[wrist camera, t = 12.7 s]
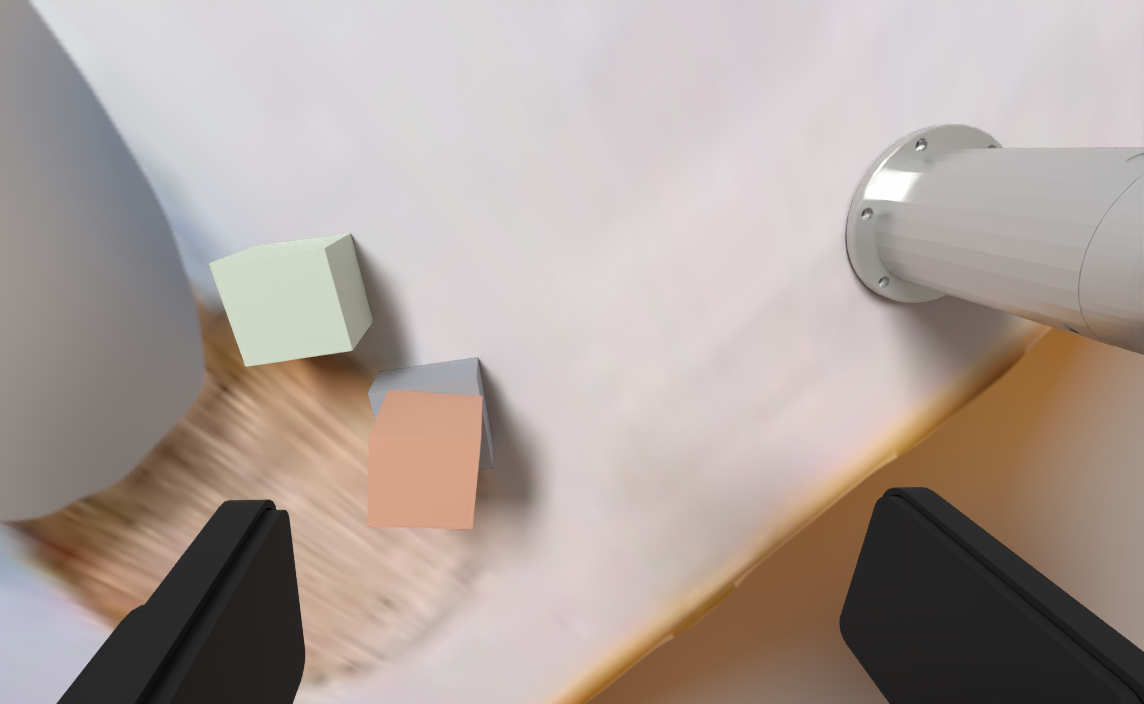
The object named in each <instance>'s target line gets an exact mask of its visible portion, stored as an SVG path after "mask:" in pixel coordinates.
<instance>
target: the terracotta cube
mask: <svg viewBox="0 0 1144 704" xmlns="http://www.w3.org/2000/svg"><path fill="white" fill-rule="evenodd" d="M481 425H482V396H474V395H459V394H444V393H430V392H415V391H401V390H388V392H387V395H386V397H385V399H384V402H383V404H382V406H381V409H380V411H379V413H378V416H377V418H376V420H375V423H374V425H373V427H372V430H371V432H370V434H369V477H368V527H405V528H445V529H473V519H474V509H475V498H476V488H477V477H478V467H479V457H480V446H481Z"/></svg>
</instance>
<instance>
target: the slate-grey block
mask: <svg viewBox="0 0 1144 704" xmlns="http://www.w3.org/2000/svg"><path fill="white" fill-rule="evenodd" d="M388 390H401V391H415V392H430V393H444V394H459V395H474V396H482V425H481V446H480V457H479V467H478V470H484V469H491V468H493V440H492V434H491V429H490V423H489V417H488V412H487V406H486V400H485V395H484V389H483V383H482V378H481V372H480V367H479V361H478V357H475V358H468V359H462V360H455V361H448V362H441V363H434V364H427V365H420V366H414V367H407V368H400V369H393V370H386V371H379V372H378V374H377V376H376V378H375V380H374V382H373V384H372V386H371V388H370V390H369V392H368V397H369V400H370V404H371V408H372V412H373V416H374V419H375V420H376V418H377V416H378V413H379V411H380V409H381V406H382V404H383V402H384V399H385V397H386V395H387V392H388Z"/></svg>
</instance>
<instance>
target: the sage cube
mask: <svg viewBox="0 0 1144 704" xmlns="http://www.w3.org/2000/svg"><path fill="white" fill-rule="evenodd" d="M209 265H210V268H211V270H212V273H213V276H214V279H215V282H216V285H217V287H218V290H219V293H220V296H221V299H222V301H223V304H224V307H225V310H226V313H227V315H228V318H229V321H230V324H231V327H232V330H233V332H234V335H235V338H236V341H237V344H238V346H239V349H240V352H241V355H242V358H243V360H244V363H245V366H246V367H247V366H253V365H260V364H267V363H273V362H280V361H287V360H294V359H300V358H307V357H314V356H320V355H327V354H334V353H340V352H347V351H353V349H354V348H355V347H356V345H357V344H358V342H359V341H360V339H361V338H362V337H363V335H364V334H365V332H366V331H367V329H368V328H369V327H370V325H371V324H372V322H373V319H372V315H371V311H370V307H369V303H368V299H367V295H366V291H365V287H364V283H363V279H362V276H361V272H360V268H359V264H358V260H357V256H356V252H355V248H354V244H353V240H352V237H351V233H349V234H341V235H333V236H326V237H318V238H310V239H303V240H295V241H287V242H279V243H272V244H264V245H256V246H252V247H250V248H247V249H245V250H242V251H240V252H237V253H234V254H232V255H229V256H227V257H224V258H222V259H219V260H217V261H214V262H211V263H209Z"/></svg>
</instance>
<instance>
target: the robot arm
mask: <svg viewBox="0 0 1144 704" xmlns="http://www.w3.org/2000/svg"><path fill="white" fill-rule="evenodd" d="M846 236H847V250H848V253H849V257H850V261H851V264H852V266H853V268H854V270H855V272H856V274H857V275H858V277H859V278H860V279H861V280H862V281H863V283H864V284H865V285H866V286H867V287H869V288H870V289H871V290H873V291H874V292H876V293H877V294H879V295H882V296H884V297H887V298H889V299H892V300H896V301H899V302H903V303H921V302H927V301H932V300H935V299H938V298H941V297H944V296H947V295H951V296H954V297H957V298H960V299H963V300H967V301H970V302H973V303H976V304H980V305H983V306H986V307H989V308H992V309H996V310H999V311H1002V312H1005V313H1009V314H1012V315H1015V316H1018V317H1021V318H1025V319H1028V320H1031V321H1034V322H1038V323H1041V324H1044V325H1047V326H1050V327H1054V328H1057V329H1060V330H1064V331H1067V332H1070V333H1073V334H1076V335H1080V336H1083V337H1086V338H1089V339H1092V340H1096V341H1099V342H1102V343H1105V344H1109V345H1112V346H1116V347H1119V348H1123V349H1126V350H1129V351H1132V352H1136V353H1139V354H1143V355H1144V147H1094V148H1003V147H1002V146H1001V144H1000V143H999V142H998V141H996V140H995V139H994V138H993V137H992V136H991V135H990V134H988V133H986V132H984V131H982V130H980V129H978V128H976V127H971V126H967V125H940V126H932V127H928V128H925V129H922V130H919V131H916V132H913V133H911V134H910V135H908V136H906V137H904V138H903V139H901V140H899V141H898V142H896V143H895V144H894V145H893V146H891V147H890V148H889V149H888V150H886V151H885V152H884V153H883V154H882V155H881V156H880V157H879V158H878V160H877V161H876V162H875V163H874V164H873V165H872V166H871V168H870V169H869V171H868V172H867V174H866V175H865V177H864V178H863V180H862V181H861V183H860V185H859V187H858V189H857V192H856V194H855V196H854V198H853V201H852V205H851V208H850V212H849V215H848V222H847V231H846ZM840 630H841V634H842V636H843V639H844V641H845V642H846V644H847V645H848V647H849V648H850V650H851V651H852V652H853V654H854V655H855V656H856V658H857V659H858V660H859V662H860V663H861V665H862V666H863V667H864V669H865V670H866V672H867V673H868V674H869V676H870V677H871V678H872V680H873V681H874V683H875V684H876V685H877V687H878V688H879V689H880V691H881V692H882V694H883V695H884V696H885V698H886V699H887V701H888V702H889V703H890V704H1144V652H1143V651H1142V650H1141V649H1139V648H1138V647H1137V646H1135V645H1134V644H1133V643H1131V642H1130V641H1129V640H1128V639H1126V638H1125V637H1124V636H1122V635H1121V634H1120V633H1118V632H1117V631H1116V630H1115V629H1113V628H1112V627H1111V626H1109V625H1108V624H1107V623H1105V622H1104V621H1103V620H1101V619H1100V618H1099V617H1097V616H1096V615H1095V614H1094V613H1092V612H1091V611H1090V610H1088V609H1087V608H1086V607H1084V606H1083V605H1082V604H1080V603H1079V602H1078V601H1077V600H1075V599H1074V598H1073V597H1071V596H1070V595H1069V594H1067V593H1066V592H1065V591H1063V590H1062V589H1061V588H1060V587H1058V586H1057V585H1055V584H1054V583H1053V582H1052V581H1050V580H1049V579H1048V578H1046V577H1045V576H1044V575H1043V574H1041V573H1040V572H1038V571H1037V570H1036V569H1035V568H1033V567H1032V566H1031V565H1029V564H1028V563H1027V562H1025V561H1024V560H1023V559H1022V558H1020V557H1019V556H1018V555H1016V554H1015V553H1014V552H1012V551H1011V550H1010V549H1008V548H1007V547H1006V546H1005V545H1003V544H1002V543H1001V542H999V541H998V540H997V539H995V538H994V537H993V536H991V535H990V534H989V533H987V532H986V531H985V530H984V529H982V528H981V527H980V526H978V525H977V524H976V523H974V522H973V521H972V520H970V519H969V518H968V517H967V516H965V515H964V514H962V513H961V512H960V511H959V510H957V509H956V508H955V507H953V506H952V505H951V504H950V503H948V502H947V501H946V500H944V499H943V498H942V497H940V496H939V495H938V494H936V493H935V492H934V491H932V490H930V489H928V488H924V487H904V488H902V487H901V488H891V489H888V490H887V491H886V492H885V493H884V495H883V497H881V498H880V499H879V500H877V502H876V504H875V507H874V510H873V513H872V517H871V520H870V523H869V526H868V529H867V533H866V536H865V539H864V543H863V546H862V549H861V552H860V555H859V558H858V562H857V565H856V568H855V571H854V575H853V578H852V581H851V584H850V587H849V591H848V594H847V597H846V600H845V603H844V607H843V610H842V613H841V616H840ZM304 664H305V645H304V637H303V628H302V620H301V611H300V603H299V595H298V586H297V578H296V570H295V561H294V553H293V544H292V536H291V528H290V519H289V515H288V512H287V511H286V510H276V506H275V504H274V502H273V501H271V500H229V501H225V502H224V503H223V504H222V505H221V506H220V507H219V508H218V509H217V511H216V512H215V513H214V515H213V516H212V517H211V518H210V520H209V521H208V522H207V524H206V525H205V526H204V528H203V529H202V530H201V532H200V533H199V534H198V536H197V537H196V538H195V539H194V541H193V542H192V543H191V545H190V546H189V547H188V549H187V550H186V551H185V553H184V554H183V555H182V556H181V558H180V559H179V560H178V562H177V563H176V564H175V566H174V567H173V568H172V570H171V571H170V572H169V574H168V575H167V576H166V577H165V579H164V580H163V581H162V583H161V584H160V585H159V587H158V588H157V589H156V591H155V592H154V593H153V594H152V596H151V597H150V598H149V600H148V601H147V602H146V604H145V605H141V606H139V607H137V608H136V609H134V610H132V611H131V612H130V613H129V614H128V615H127V616H126V617H125V618H124V619H123V620H122V621H121V622H120V624H119V625H118V626H117V627H116V629H115V630H114V631H113V632H112V634H111V635H110V636H109V638H108V639H107V640H106V641H105V643H104V644H103V645H102V646H101V648H100V649H99V650H98V652H97V653H96V654H95V655H94V657H93V658H92V659H91V660H90V662H89V663H88V664H87V666H86V667H85V668H84V669H83V671H82V672H81V673H80V674H79V676H78V677H77V678H76V679H75V681H74V682H73V683H72V685H71V686H70V687H69V688H68V690H67V691H66V692H65V693H64V695H63V696H62V697H61V699H60V700H59V701H58V702H57V704H293V701H294V698H295V696H296V693H297V690H298V687H299V685H300V682H301V678H302V675H303V670H304Z"/></svg>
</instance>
